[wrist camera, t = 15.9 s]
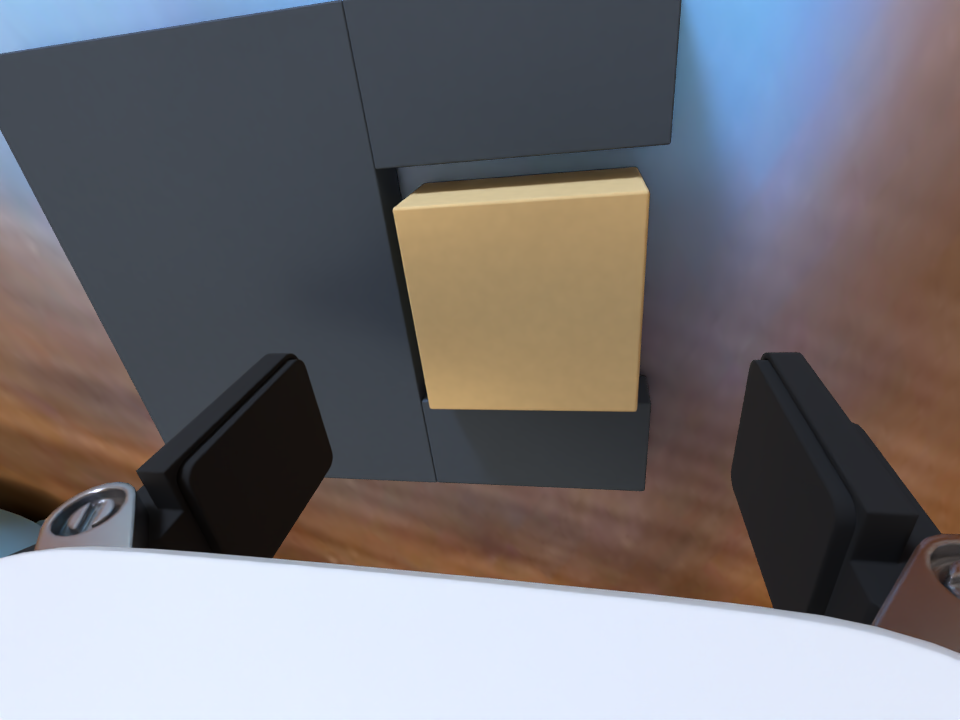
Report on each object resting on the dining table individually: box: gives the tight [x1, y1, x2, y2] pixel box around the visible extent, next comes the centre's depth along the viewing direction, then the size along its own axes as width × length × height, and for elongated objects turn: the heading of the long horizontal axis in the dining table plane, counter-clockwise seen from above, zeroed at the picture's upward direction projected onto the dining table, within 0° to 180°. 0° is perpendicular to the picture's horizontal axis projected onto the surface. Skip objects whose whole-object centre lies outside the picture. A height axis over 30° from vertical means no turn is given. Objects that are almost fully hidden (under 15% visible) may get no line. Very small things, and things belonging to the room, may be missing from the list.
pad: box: [393, 167, 650, 412], centre depth 16 cm, size 7×7×3 cm
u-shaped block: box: [0, 0, 681, 491], centre depth 18 cm, size 20×16×2 cm
